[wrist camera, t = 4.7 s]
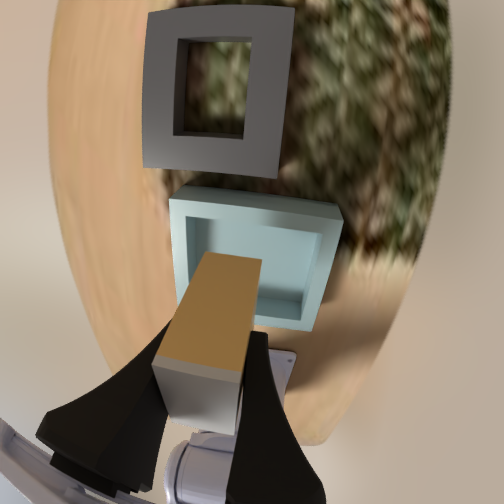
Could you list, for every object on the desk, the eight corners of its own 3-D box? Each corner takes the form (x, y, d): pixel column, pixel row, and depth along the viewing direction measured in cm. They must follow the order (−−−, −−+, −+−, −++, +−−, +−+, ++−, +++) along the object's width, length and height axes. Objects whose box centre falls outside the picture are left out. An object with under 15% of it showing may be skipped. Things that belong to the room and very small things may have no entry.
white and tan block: (253, 327, 15) (234, 435, 10) (206, 319, 15) (171, 422, 10) (262, 259, 13) (239, 383, 7) (205, 251, 13) (151, 364, 7)
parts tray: (310, 308, 22) (311, 331, 20) (188, 290, 23) (178, 311, 21) (337, 204, 17) (343, 221, 15) (183, 184, 18) (169, 198, 16)
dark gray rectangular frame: (278, 170, 17) (276, 179, 15) (155, 160, 17) (143, 167, 16) (294, 16, 11) (295, 7, 10) (161, 18, 12) (148, 12, 10)
